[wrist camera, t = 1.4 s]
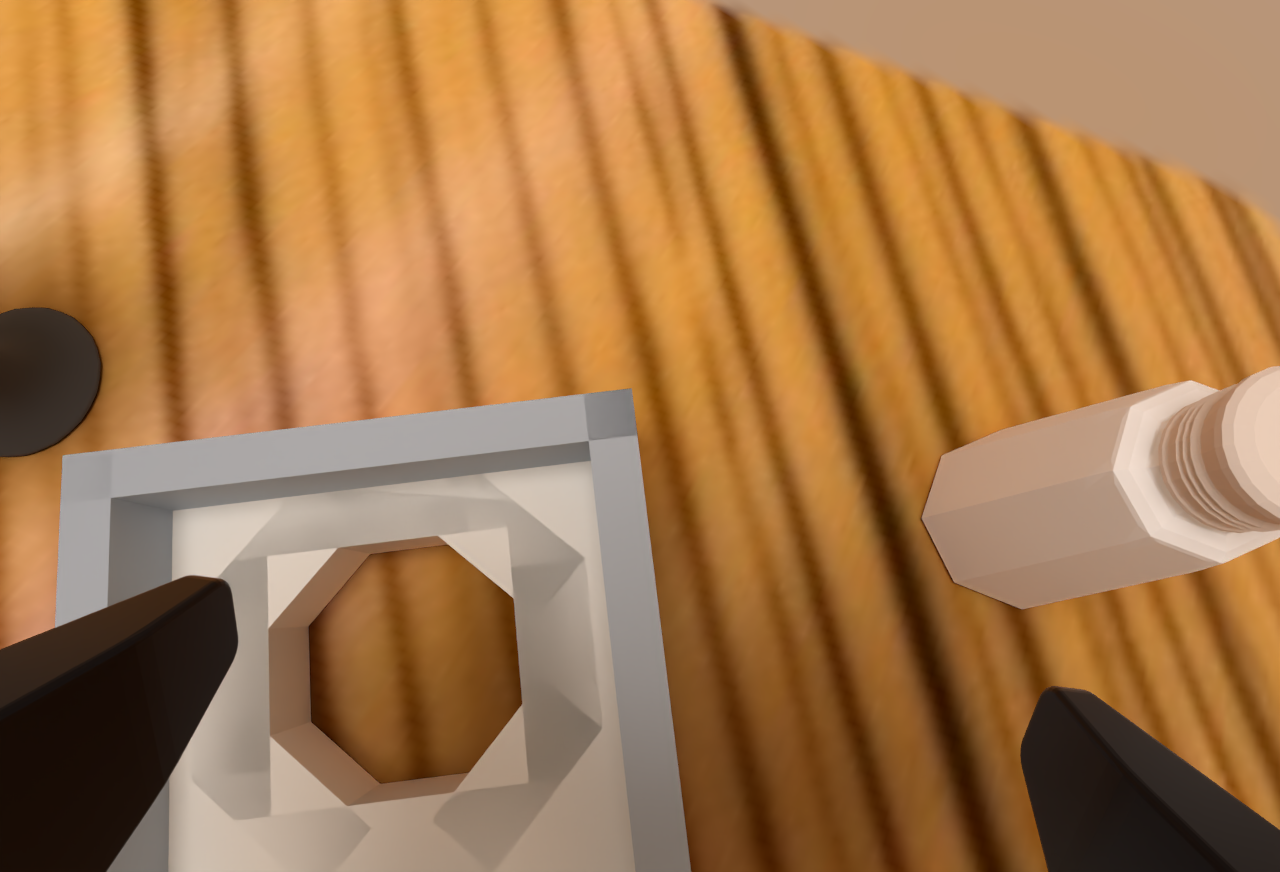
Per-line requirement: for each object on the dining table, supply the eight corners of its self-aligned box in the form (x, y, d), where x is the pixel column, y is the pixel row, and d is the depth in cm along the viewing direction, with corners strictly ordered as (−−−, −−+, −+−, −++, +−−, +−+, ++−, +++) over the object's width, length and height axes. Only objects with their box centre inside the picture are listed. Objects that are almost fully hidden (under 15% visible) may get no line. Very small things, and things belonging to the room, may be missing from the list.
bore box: (705, 1014, 20) (724, 1140, 16) (177, 1085, 20) (28, 1238, 15) (633, 433, 24) (631, 388, 19) (182, 486, 24) (62, 455, 19)
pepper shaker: (882, 519, 23) (1085, 443, 13) (994, 395, 24) (1275, 227, 13) (1023, 648, 22) (1370, 686, 12) (1135, 516, 23) (1555, 439, 13)
